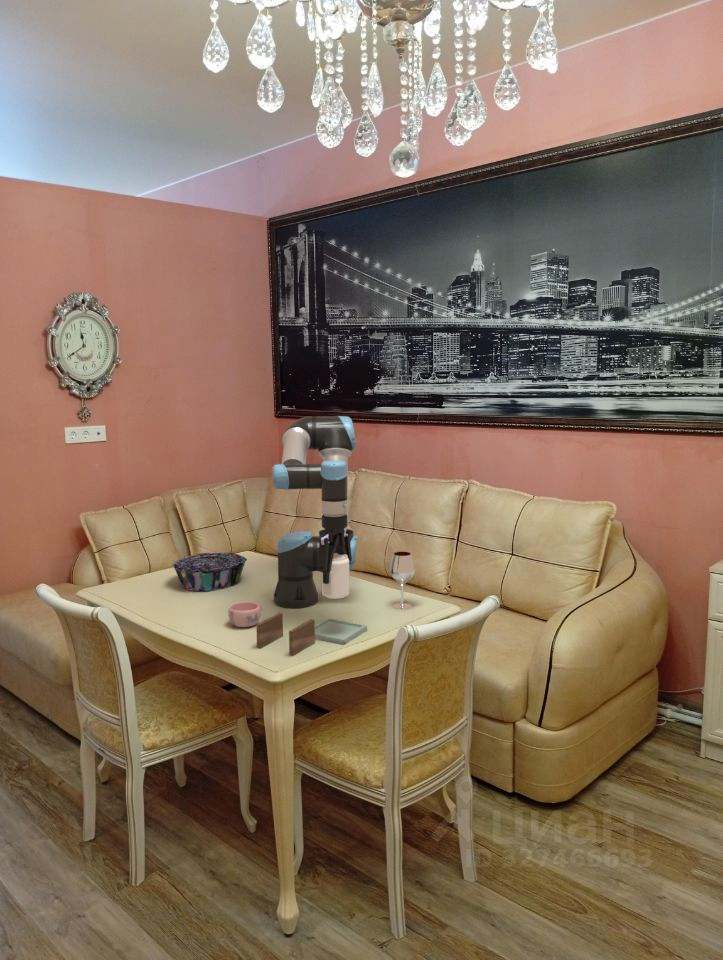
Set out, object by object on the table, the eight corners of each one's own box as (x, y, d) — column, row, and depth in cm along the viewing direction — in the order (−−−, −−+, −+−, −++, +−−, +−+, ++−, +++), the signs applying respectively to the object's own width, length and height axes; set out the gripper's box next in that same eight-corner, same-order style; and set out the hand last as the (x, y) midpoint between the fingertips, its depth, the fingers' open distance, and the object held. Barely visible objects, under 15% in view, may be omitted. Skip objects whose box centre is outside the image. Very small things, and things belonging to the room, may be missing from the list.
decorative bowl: (261, 585, 280) (262, 558, 279) (206, 599, 257) (207, 570, 256) (212, 574, 294) (212, 549, 293) (156, 586, 271) (156, 559, 270)
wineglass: (388, 603, 252) (388, 550, 249) (412, 602, 253) (412, 550, 250) (391, 611, 244) (391, 557, 241) (416, 610, 245) (416, 556, 242)
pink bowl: (243, 632, 226) (243, 613, 225) (222, 625, 232) (221, 607, 231) (272, 621, 235) (272, 603, 234) (251, 615, 241) (250, 597, 240)
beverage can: (346, 600, 218) (345, 560, 216) (319, 598, 220) (318, 558, 218) (352, 592, 226) (351, 553, 224) (325, 590, 227) (325, 552, 226)
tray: (304, 636, 222) (304, 631, 222) (328, 622, 234) (328, 617, 234) (343, 644, 216) (343, 639, 215) (367, 630, 227) (367, 625, 227)
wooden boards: (257, 647, 214) (256, 624, 213) (279, 635, 223) (279, 612, 222) (293, 656, 208) (292, 631, 207) (314, 642, 217) (314, 619, 216)
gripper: (326, 521, 208) (327, 601, 212) (363, 509, 226) (363, 582, 229) (303, 519, 212) (305, 597, 215) (341, 507, 230) (342, 579, 233)
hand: (335, 589), depth 222 cm, fingers closed on beverage can, 8 cm apart
